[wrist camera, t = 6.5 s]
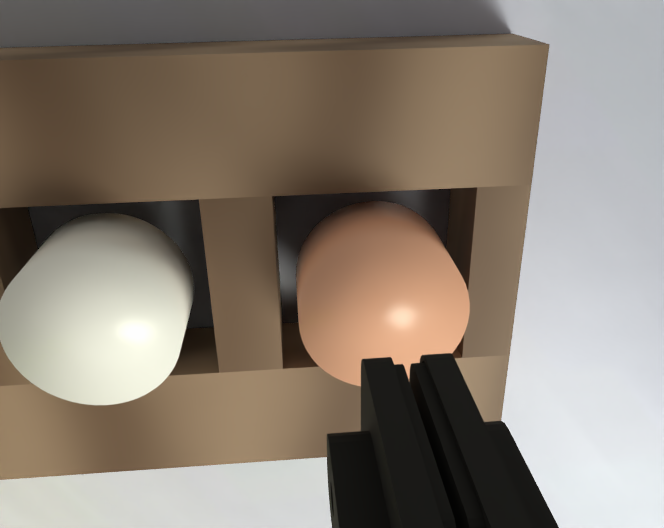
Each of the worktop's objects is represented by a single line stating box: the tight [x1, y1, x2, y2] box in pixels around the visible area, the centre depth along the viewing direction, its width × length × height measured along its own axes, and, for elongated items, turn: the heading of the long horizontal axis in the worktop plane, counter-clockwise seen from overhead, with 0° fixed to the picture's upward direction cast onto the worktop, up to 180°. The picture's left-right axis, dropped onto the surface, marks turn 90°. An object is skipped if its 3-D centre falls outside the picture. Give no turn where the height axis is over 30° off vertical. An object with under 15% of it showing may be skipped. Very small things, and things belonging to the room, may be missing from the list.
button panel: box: [0, 34, 549, 480], centre depth 17 cm, size 22×12×2 cm, turn 91°
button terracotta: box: [296, 201, 470, 386], centre depth 16 cm, size 4×4×2 cm
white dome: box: [0, 213, 194, 405], centre depth 16 cm, size 4×4×2 cm
